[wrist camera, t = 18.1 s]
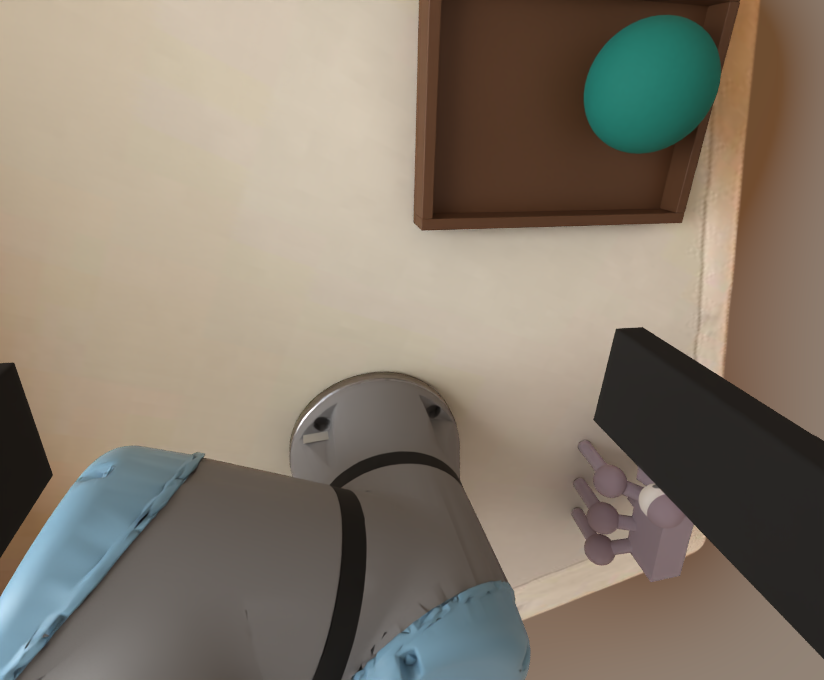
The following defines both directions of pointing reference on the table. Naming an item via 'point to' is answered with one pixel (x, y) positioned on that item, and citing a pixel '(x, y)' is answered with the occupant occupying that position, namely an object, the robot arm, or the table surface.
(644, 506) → the toy sheep
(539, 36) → the tray
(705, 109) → the ball
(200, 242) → the table surface
